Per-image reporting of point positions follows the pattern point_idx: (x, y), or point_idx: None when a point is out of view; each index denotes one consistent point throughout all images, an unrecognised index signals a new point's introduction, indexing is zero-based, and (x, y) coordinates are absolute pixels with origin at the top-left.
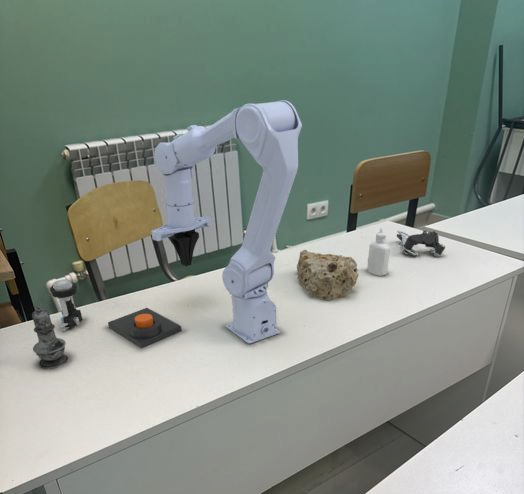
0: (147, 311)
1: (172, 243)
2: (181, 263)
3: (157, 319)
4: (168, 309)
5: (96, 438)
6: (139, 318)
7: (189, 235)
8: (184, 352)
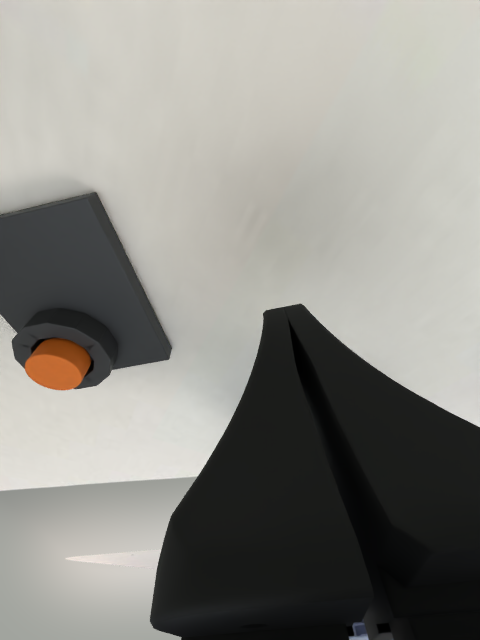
0: (87, 233)
1: (222, 444)
2: (264, 316)
3: (103, 358)
4: (178, 208)
5: (10, 481)
6: (40, 373)
7: (372, 629)
8: (152, 406)
